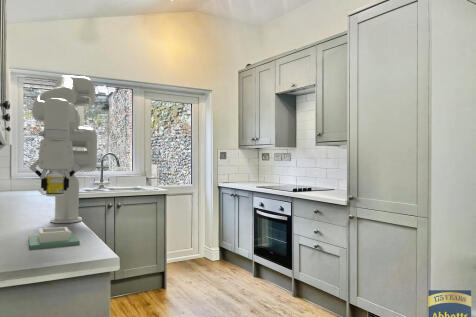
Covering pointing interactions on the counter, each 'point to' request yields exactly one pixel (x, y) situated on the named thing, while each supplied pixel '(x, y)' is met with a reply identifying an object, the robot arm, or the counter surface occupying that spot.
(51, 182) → the supplement bottle
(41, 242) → the board
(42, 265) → the counter surface
